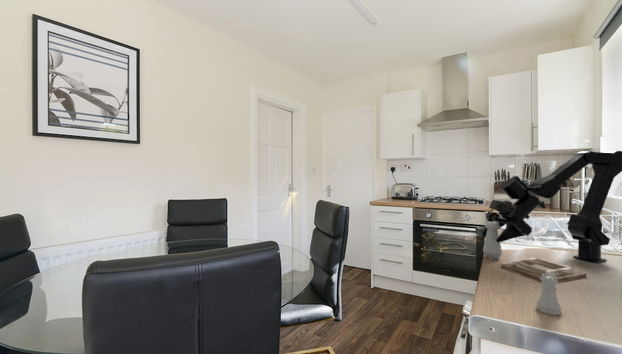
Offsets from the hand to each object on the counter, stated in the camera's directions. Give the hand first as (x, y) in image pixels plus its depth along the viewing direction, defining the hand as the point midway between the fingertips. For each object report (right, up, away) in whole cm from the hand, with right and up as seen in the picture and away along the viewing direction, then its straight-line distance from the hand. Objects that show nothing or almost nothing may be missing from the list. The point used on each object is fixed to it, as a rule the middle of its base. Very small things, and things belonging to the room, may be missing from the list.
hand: (489, 238), depth 103 cm
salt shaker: (+1, -7, 0) cm, 7 cm away
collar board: (+7, -7, -15) cm, 18 cm away
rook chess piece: (-12, -8, -40) cm, 42 cm away
